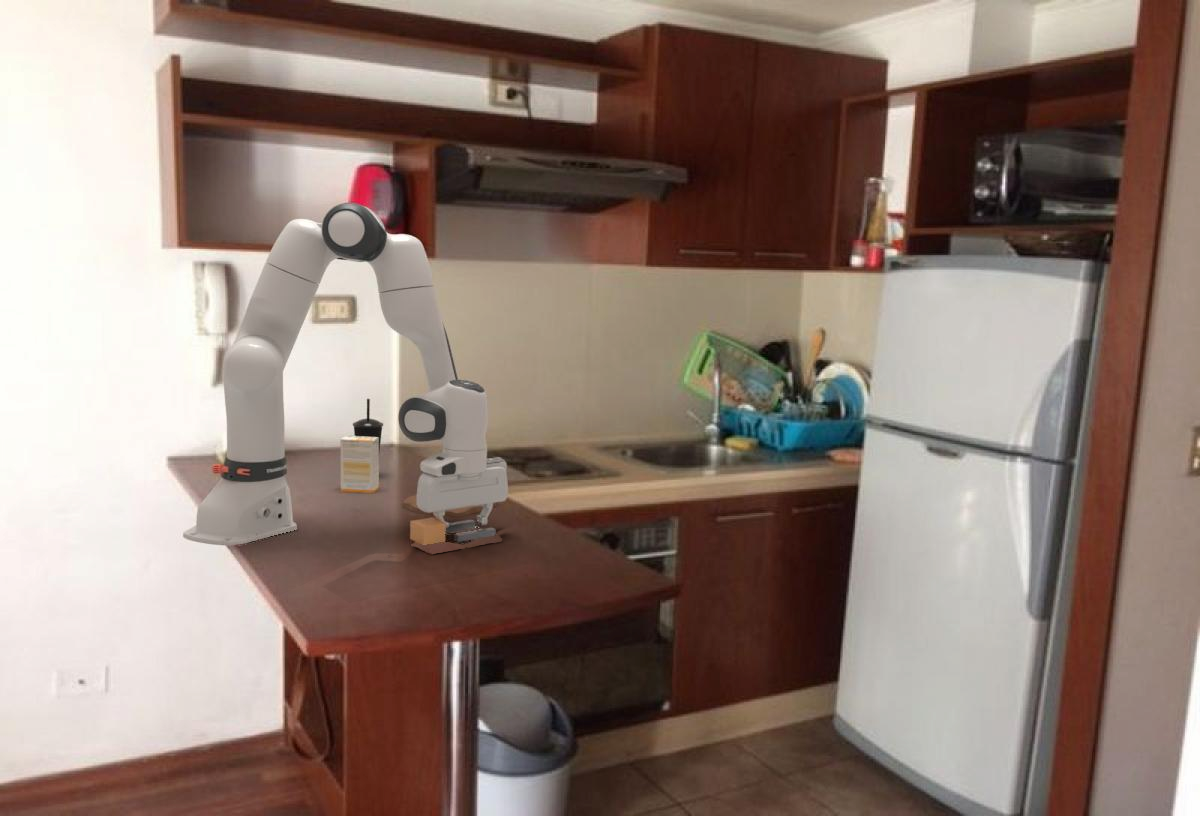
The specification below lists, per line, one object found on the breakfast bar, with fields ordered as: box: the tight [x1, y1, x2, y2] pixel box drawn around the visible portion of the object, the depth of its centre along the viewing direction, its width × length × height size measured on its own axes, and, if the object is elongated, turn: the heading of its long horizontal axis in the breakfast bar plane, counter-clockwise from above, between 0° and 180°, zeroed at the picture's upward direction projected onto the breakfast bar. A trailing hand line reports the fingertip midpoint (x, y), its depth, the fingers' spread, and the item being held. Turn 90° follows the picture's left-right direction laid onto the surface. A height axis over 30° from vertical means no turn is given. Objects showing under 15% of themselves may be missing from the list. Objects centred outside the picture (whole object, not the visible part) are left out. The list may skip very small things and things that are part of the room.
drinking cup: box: [352, 398, 384, 453], centre depth 257 cm, size 8×8×20 cm
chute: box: [446, 519, 497, 543], centre depth 203 cm, size 17×11×3 cm, turn 132°
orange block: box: [409, 517, 447, 545], centre depth 198 cm, size 5×5×4 cm
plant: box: [402, 493, 497, 518], centre depth 228 cm, size 20×20×11 cm
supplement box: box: [339, 435, 380, 494], centre depth 241 cm, size 8×5×13 cm, turn 84°
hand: (463, 527), depth 204 cm, fingers open, 8 cm apart
